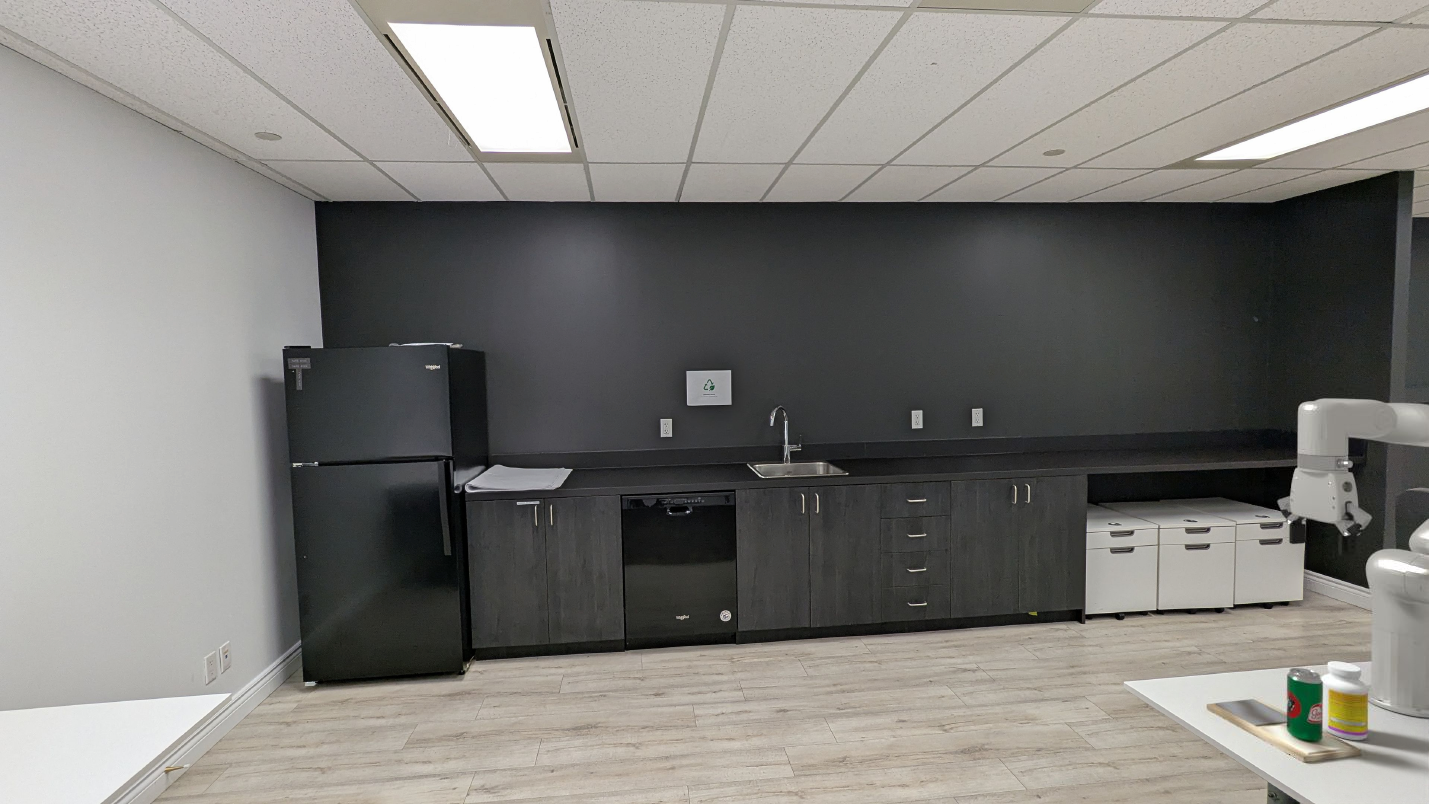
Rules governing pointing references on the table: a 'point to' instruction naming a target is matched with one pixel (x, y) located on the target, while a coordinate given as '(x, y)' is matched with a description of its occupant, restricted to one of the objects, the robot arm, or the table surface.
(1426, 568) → the robot arm
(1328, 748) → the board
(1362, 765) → the table surface
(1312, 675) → the soda can
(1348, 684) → the supplement bottle
